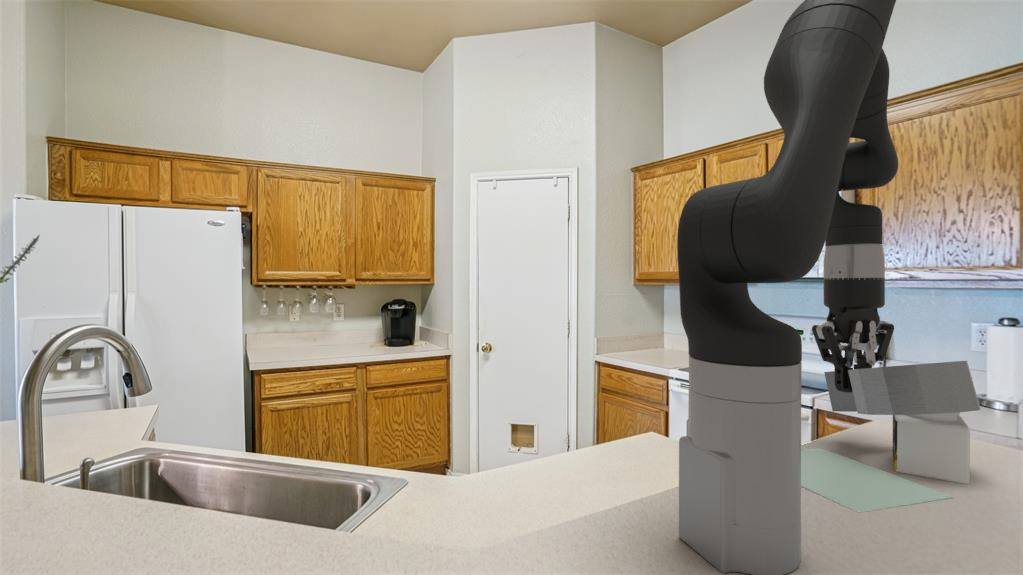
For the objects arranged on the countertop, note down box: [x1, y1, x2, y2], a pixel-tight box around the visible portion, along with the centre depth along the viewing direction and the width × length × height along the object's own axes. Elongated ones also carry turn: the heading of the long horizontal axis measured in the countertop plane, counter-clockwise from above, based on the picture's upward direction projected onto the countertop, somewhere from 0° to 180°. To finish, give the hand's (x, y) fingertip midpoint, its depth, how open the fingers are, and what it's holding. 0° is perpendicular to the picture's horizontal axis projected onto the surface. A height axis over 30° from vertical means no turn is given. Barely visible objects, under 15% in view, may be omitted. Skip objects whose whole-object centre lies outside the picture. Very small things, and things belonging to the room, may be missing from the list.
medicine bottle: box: [892, 412, 971, 485], centre depth 64 cm, size 7×7×12 cm
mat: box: [801, 447, 954, 514], centre depth 61 cm, size 14×17×1 cm
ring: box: [823, 360, 981, 416], centre depth 67 cm, size 12×18×6 cm
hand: (853, 390), depth 73 cm, fingers closed on ring, 3 cm apart
